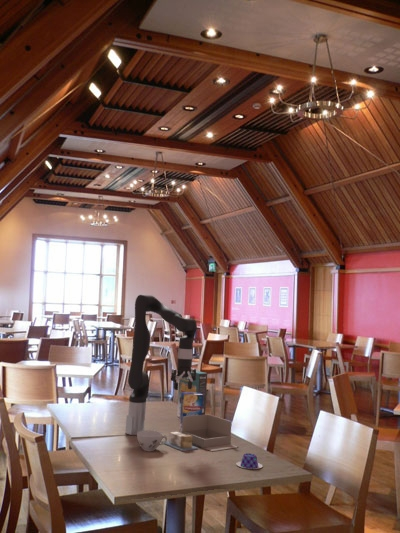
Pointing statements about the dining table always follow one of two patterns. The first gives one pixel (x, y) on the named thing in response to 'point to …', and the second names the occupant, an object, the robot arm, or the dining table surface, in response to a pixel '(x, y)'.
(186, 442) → the block
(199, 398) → the beverage box
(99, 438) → the dining table surface
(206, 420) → the carton
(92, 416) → the dining table surface
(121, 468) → the dining table surface
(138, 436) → the teacup
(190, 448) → the mat
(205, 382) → the cake mix box
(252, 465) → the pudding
